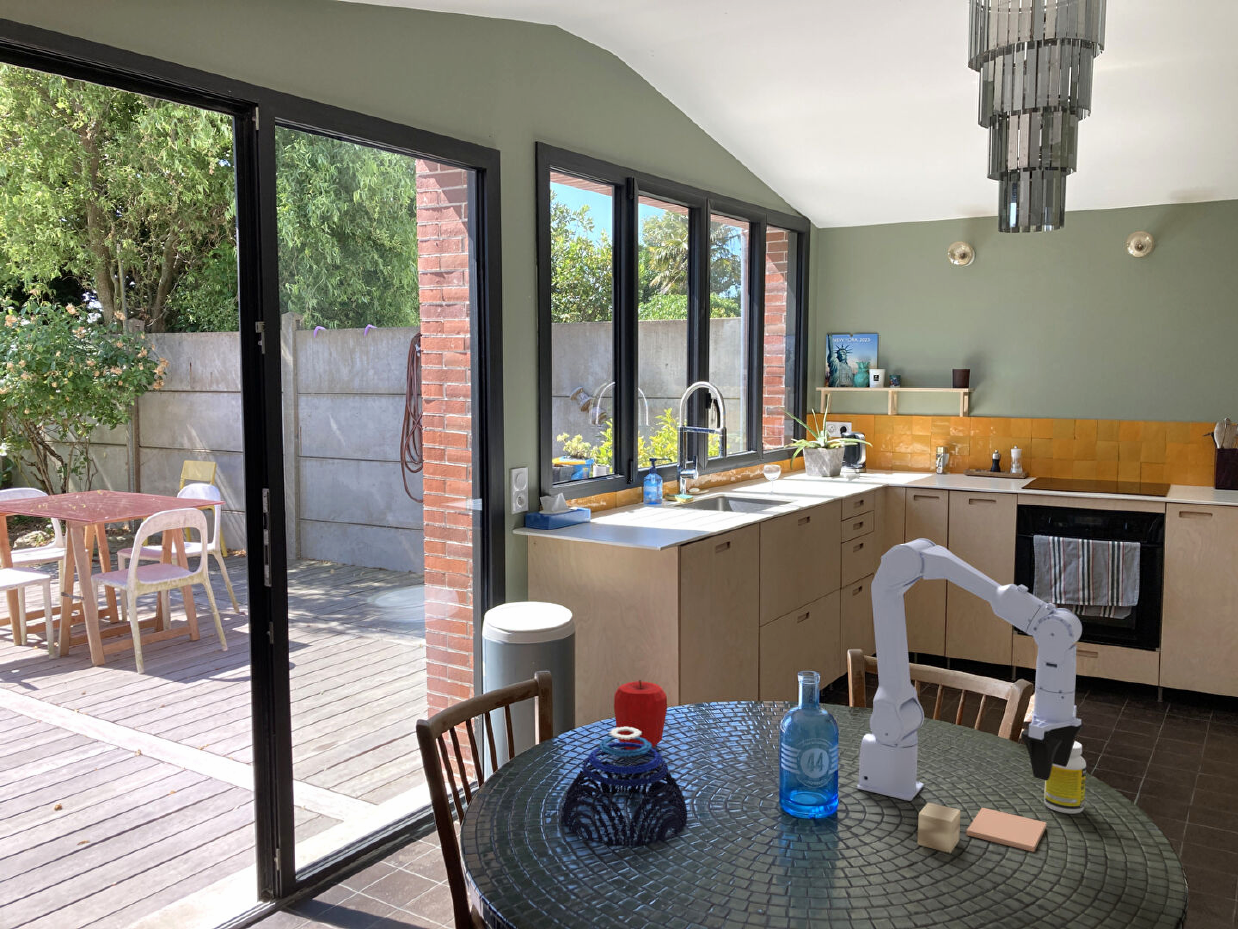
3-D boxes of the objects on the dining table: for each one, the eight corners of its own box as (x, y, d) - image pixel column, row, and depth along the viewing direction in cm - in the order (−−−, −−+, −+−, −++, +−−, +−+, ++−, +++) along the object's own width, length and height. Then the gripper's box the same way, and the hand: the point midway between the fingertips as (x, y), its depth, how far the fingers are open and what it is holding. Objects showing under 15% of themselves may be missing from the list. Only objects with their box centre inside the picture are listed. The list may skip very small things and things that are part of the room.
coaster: (966, 835, 156) (966, 830, 156) (981, 812, 165) (982, 807, 165) (1033, 852, 151) (1034, 847, 151) (1046, 827, 159) (1046, 822, 159)
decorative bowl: (711, 817, 162) (713, 732, 161) (629, 860, 148) (630, 766, 146) (622, 782, 176) (623, 703, 175) (538, 818, 161) (538, 732, 160)
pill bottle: (1088, 816, 163) (1091, 751, 162) (1048, 813, 165) (1051, 748, 164) (1078, 801, 169) (1082, 738, 168) (1040, 797, 171) (1043, 735, 170)
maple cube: (917, 845, 153) (918, 813, 153) (926, 832, 157) (928, 802, 157) (950, 853, 150) (951, 822, 150) (959, 841, 155) (960, 810, 154)
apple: (667, 759, 186) (668, 688, 185) (613, 758, 187) (613, 687, 185) (665, 738, 197) (666, 672, 196) (614, 738, 197) (614, 671, 196)
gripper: (1064, 704, 148) (1059, 792, 149) (1097, 683, 158) (1093, 766, 159) (1016, 693, 153) (1012, 778, 154) (1052, 673, 163) (1048, 754, 164)
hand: (1050, 771), depth 157 cm, fingers open, 7 cm apart
